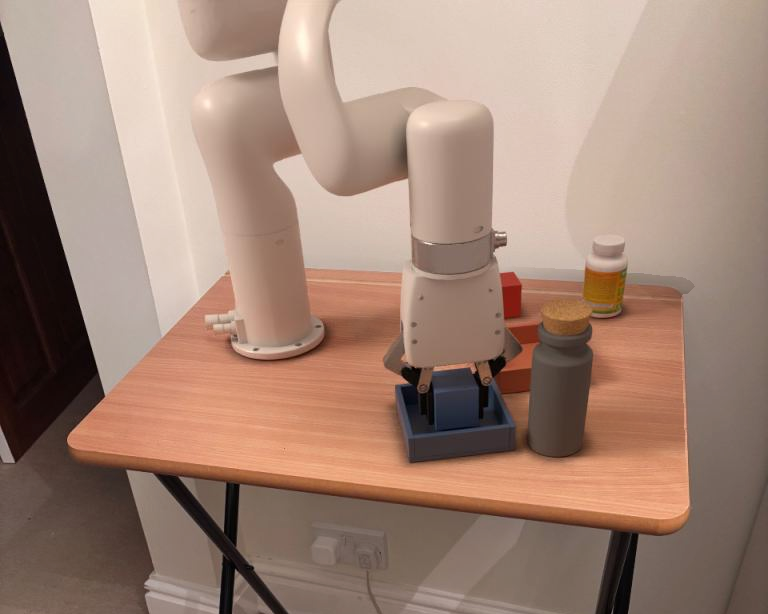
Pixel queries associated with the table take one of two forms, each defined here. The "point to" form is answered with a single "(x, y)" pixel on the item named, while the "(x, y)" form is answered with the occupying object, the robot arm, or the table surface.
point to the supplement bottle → (605, 276)
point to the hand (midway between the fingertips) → (453, 414)
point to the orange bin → (519, 360)
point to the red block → (511, 294)
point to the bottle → (560, 379)
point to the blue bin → (454, 429)
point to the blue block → (455, 398)
